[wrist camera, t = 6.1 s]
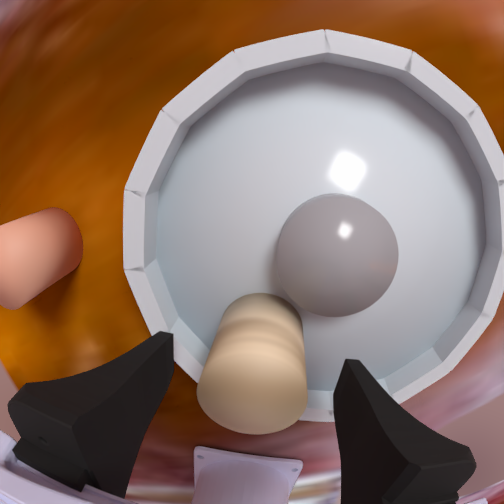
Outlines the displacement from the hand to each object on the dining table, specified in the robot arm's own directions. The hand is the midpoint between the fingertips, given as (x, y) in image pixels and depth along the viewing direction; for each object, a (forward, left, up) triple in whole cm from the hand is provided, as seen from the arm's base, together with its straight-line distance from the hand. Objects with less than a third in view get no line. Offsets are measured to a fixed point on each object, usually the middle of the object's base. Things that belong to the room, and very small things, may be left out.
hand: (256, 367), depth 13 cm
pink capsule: (+3, +12, -4) cm, 13 cm away
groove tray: (+5, -3, -4) cm, 7 cm away
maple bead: (0, 0, -3) cm, 3 cm away
